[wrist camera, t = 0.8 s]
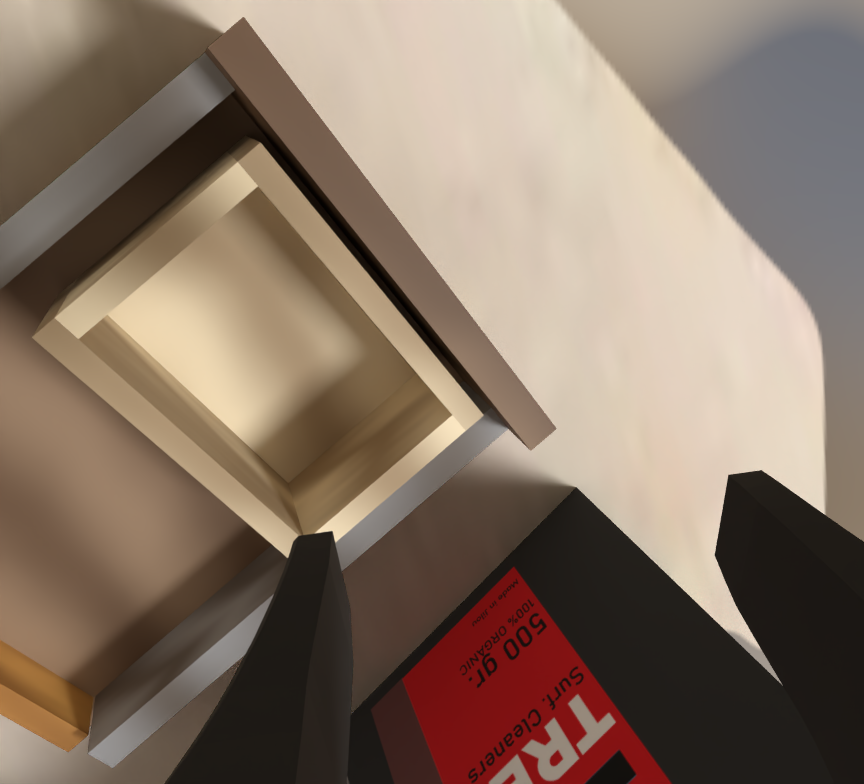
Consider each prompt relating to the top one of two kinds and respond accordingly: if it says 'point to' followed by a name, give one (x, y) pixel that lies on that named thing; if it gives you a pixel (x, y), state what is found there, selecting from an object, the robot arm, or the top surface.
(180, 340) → the crate
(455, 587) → the top surface
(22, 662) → the crate bay
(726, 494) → the robot arm
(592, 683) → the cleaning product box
